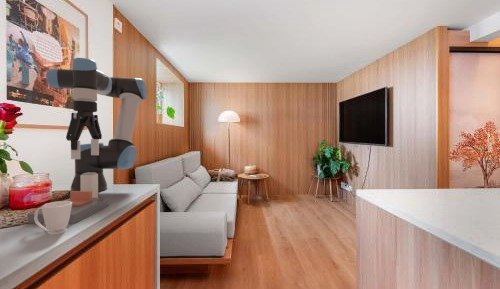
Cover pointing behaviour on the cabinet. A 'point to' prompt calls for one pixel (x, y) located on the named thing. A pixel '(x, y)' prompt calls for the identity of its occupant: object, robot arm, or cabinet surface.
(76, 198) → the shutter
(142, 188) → the cabinet surface
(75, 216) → the socket
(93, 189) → the plug
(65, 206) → the cup
